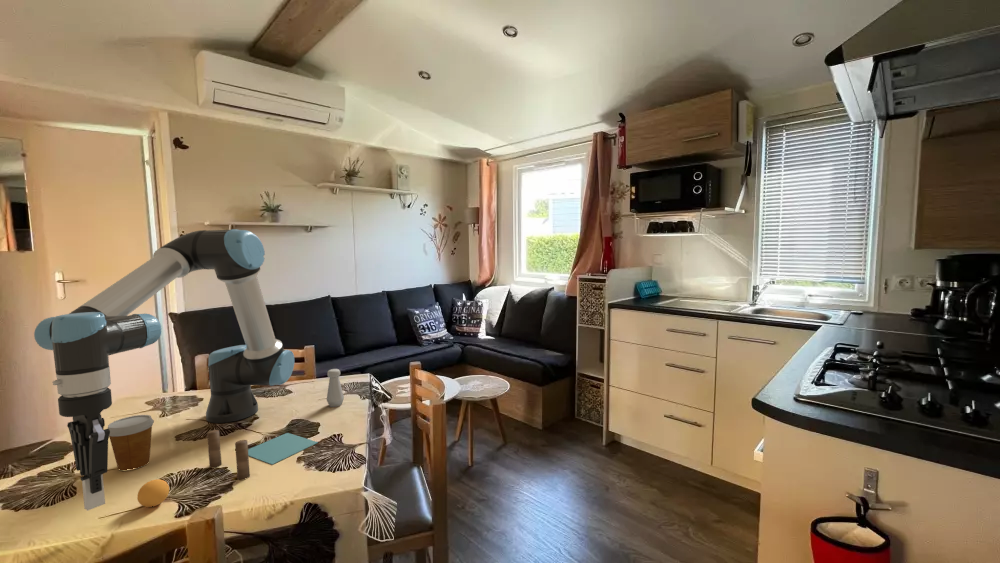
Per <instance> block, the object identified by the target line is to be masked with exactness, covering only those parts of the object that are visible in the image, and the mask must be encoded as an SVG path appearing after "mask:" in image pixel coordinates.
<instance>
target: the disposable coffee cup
mask: <svg viewBox="0 0 1000 563" xmlns="http://www.w3.org/2000/svg"><path fill="white" fill-rule="evenodd" d="M154 422H155V420H154V419H153V417H152V415H150V414H140V415H139V414H137V415H131V416H127V417H123V418H120V419H117V420H114V421H112V422H110V423H109V424H108V425H107V429H109V430H110V435H109V440H110V444H111V447H112V452H113V456H114V458H115V462H116V466H117V470H118V469H120V470H127V469H133V468H138V467H140V468H142V467H141V466H143V467H145V466H146V465H148V464H149V463H150V460H151V459H150V458H151V445H152V444H151V442H152V433H153V432H152V430H153V425H154ZM148 462H149V463H148ZM147 463H148V464H147ZM144 465H145V466H144ZM138 469H139V468H138Z"/></svg>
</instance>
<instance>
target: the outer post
mask: <svg viewBox="0 0 1000 563" xmlns="http://www.w3.org/2000/svg"><path fill="white" fill-rule="evenodd" d="M248 444H249V443H248V440H247V439H239V440H237V441H236V442H235V443H234V447H235V462H236V463H235V464H236V475H237V476H236V477H237V480H238V479H244V480H246V479H245V478H247V477H248V478H250V475H251V474H250V461H249V460H250V459H249V458H250V456H248V449H249V445H248ZM248 478H247V479H248Z"/></svg>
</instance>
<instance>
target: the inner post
mask: <svg viewBox="0 0 1000 563" xmlns="http://www.w3.org/2000/svg"><path fill="white" fill-rule="evenodd" d="M206 435H207V436H206V437H207V448H208V460H209V468H210V467H215V468H218V467H220V466H222V464H223V463H222V452H221V439H220V438H221V436H220V430H219V429H213V430H210V431H207V433H206ZM217 466H218V467H217Z"/></svg>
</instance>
